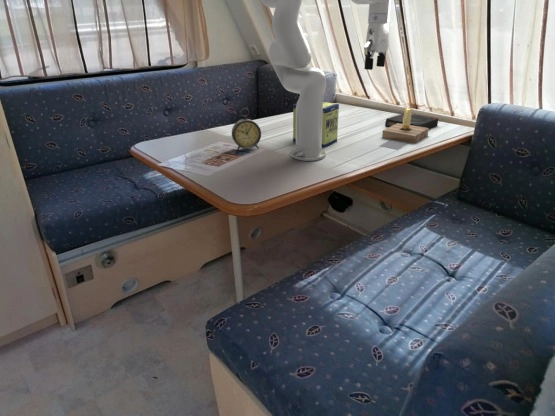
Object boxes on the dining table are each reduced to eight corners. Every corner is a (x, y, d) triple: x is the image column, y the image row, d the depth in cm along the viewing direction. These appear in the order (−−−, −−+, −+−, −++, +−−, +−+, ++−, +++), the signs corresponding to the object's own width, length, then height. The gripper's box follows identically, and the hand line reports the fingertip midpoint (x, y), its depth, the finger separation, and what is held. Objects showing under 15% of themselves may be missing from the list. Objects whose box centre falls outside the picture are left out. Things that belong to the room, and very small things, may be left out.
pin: (406, 138, 170) (410, 110, 164) (399, 137, 171) (403, 109, 166) (409, 137, 172) (413, 108, 166) (402, 136, 173) (406, 107, 168)
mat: (397, 150, 156) (397, 149, 156) (378, 146, 161) (378, 146, 161) (408, 144, 163) (408, 143, 163) (389, 140, 168) (389, 140, 168)
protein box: (324, 148, 161) (326, 108, 154) (292, 141, 169) (292, 104, 162) (338, 141, 168) (339, 103, 161) (306, 136, 176) (306, 99, 170)
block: (414, 144, 163) (415, 135, 161) (381, 138, 171) (382, 130, 169) (427, 136, 172) (428, 128, 171) (396, 131, 180) (397, 123, 179)
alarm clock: (234, 152, 158) (231, 110, 150) (232, 148, 162) (229, 107, 155) (262, 150, 160) (260, 108, 153) (258, 146, 165) (257, 105, 158)
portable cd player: (384, 127, 188) (385, 119, 186) (405, 120, 198) (406, 112, 196) (416, 134, 176) (417, 125, 175) (437, 127, 187) (438, 118, 185)
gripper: (376, 20, 142) (372, 71, 150) (398, 18, 154) (393, 66, 162) (357, 20, 146) (354, 70, 154) (380, 18, 158) (376, 64, 166)
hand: (374, 68), depth 158 cm, fingers open, 9 cm apart
